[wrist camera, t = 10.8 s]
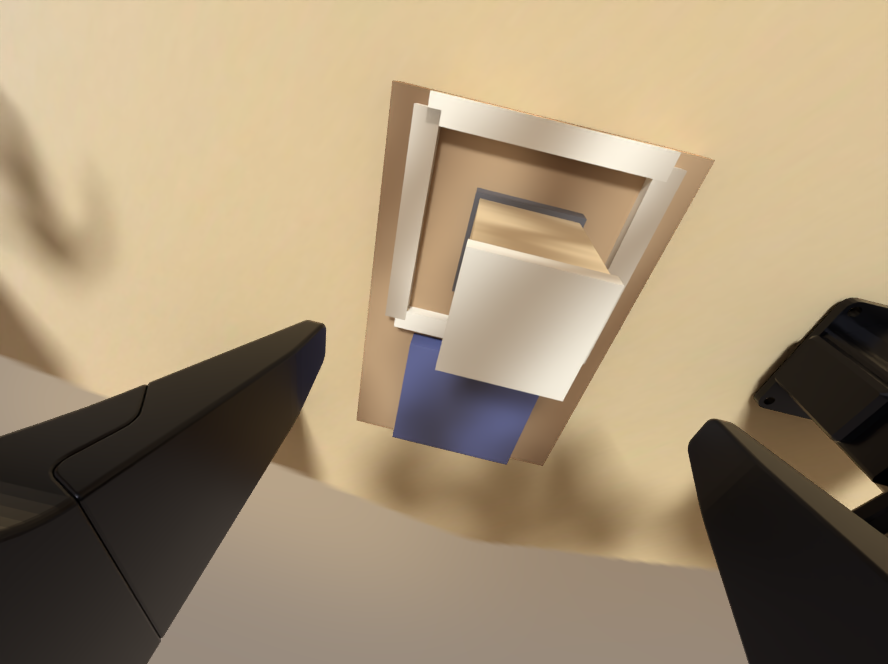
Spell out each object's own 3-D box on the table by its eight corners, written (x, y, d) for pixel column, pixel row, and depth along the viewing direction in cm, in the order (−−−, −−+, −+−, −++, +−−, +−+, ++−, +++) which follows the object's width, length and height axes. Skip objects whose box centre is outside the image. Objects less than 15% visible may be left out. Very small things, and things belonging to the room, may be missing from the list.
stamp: (582, 213, 15) (630, 283, 10) (544, 306, 18) (564, 404, 12) (477, 187, 15) (463, 242, 10) (453, 283, 17) (431, 371, 12)
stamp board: (700, 155, 15) (728, 164, 13) (541, 450, 24) (544, 479, 23) (400, 81, 14) (385, 79, 13) (362, 406, 24) (351, 432, 23)
